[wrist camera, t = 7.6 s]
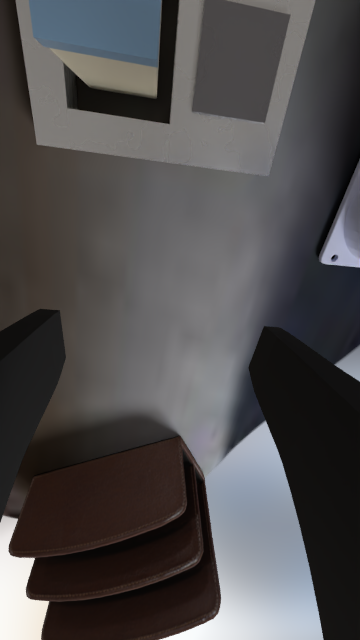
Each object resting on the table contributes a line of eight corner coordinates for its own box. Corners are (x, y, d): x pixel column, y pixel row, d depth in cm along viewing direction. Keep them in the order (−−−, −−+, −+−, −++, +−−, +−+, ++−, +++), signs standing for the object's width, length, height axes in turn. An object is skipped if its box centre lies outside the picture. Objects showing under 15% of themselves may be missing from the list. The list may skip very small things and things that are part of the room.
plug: (163, 1, 12) (168, -153, 6) (157, 100, 14) (157, 60, 8) (83, -16, 11) (2, -202, 5) (89, 89, 13) (33, 36, 7)
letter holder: (204, 472, 35) (227, 631, 24) (75, 504, 38) (38, 664, 26) (180, 433, 30) (195, 613, 18) (32, 473, 33) (-38, 656, 21)
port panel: (306, -30, 12) (336, -67, 10) (256, 173, 16) (270, 176, 14) (20, -101, 10) (-12, -162, 8) (51, 145, 14) (34, 144, 12)
